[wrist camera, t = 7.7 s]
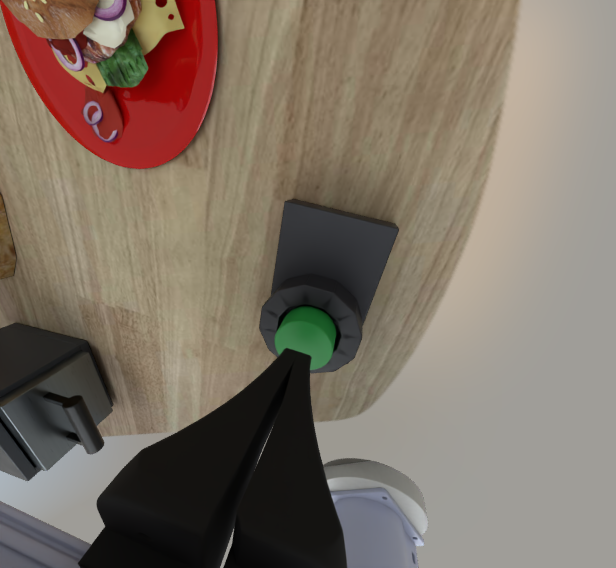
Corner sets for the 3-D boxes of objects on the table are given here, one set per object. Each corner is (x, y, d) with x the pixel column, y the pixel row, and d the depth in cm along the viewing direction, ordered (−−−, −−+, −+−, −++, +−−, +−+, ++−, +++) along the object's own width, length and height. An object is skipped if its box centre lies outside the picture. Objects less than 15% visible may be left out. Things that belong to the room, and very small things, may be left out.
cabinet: (87, 340, 26) (-31, 408, 18) (113, 405, 30) (28, 481, 23) (15, 322, 28) (-121, 377, 20) (50, 386, 32) (-50, 450, 24)
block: (349, 350, 18) (345, 385, 15) (272, 326, 19) (253, 354, 16) (395, 223, 14) (404, 236, 11) (292, 198, 15) (273, 203, 11)
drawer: (119, 360, 24) (37, 420, 18) (139, 419, 28) (78, 484, 22) (22, 334, 27) (-80, 380, 21) (53, 392, 31) (-24, 444, 24)
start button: (329, 357, 15) (324, 378, 14) (280, 341, 16) (270, 359, 14) (342, 315, 14) (339, 332, 12) (288, 298, 14) (278, 313, 12)
